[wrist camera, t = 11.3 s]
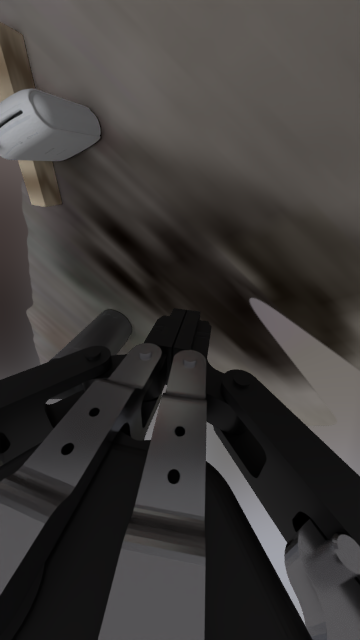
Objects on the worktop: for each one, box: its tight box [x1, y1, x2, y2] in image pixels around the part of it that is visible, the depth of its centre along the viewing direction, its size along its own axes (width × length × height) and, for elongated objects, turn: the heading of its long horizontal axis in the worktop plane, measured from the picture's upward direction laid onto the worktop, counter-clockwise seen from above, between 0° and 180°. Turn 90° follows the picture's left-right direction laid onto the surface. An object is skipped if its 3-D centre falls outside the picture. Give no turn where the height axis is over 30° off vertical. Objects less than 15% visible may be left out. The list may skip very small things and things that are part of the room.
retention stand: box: [0, 22, 62, 207], centre depth 28 cm, size 20×7×14 cm, turn 175°
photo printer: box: [0, 88, 101, 161], centre depth 28 cm, size 10×4×12 cm, turn 107°
